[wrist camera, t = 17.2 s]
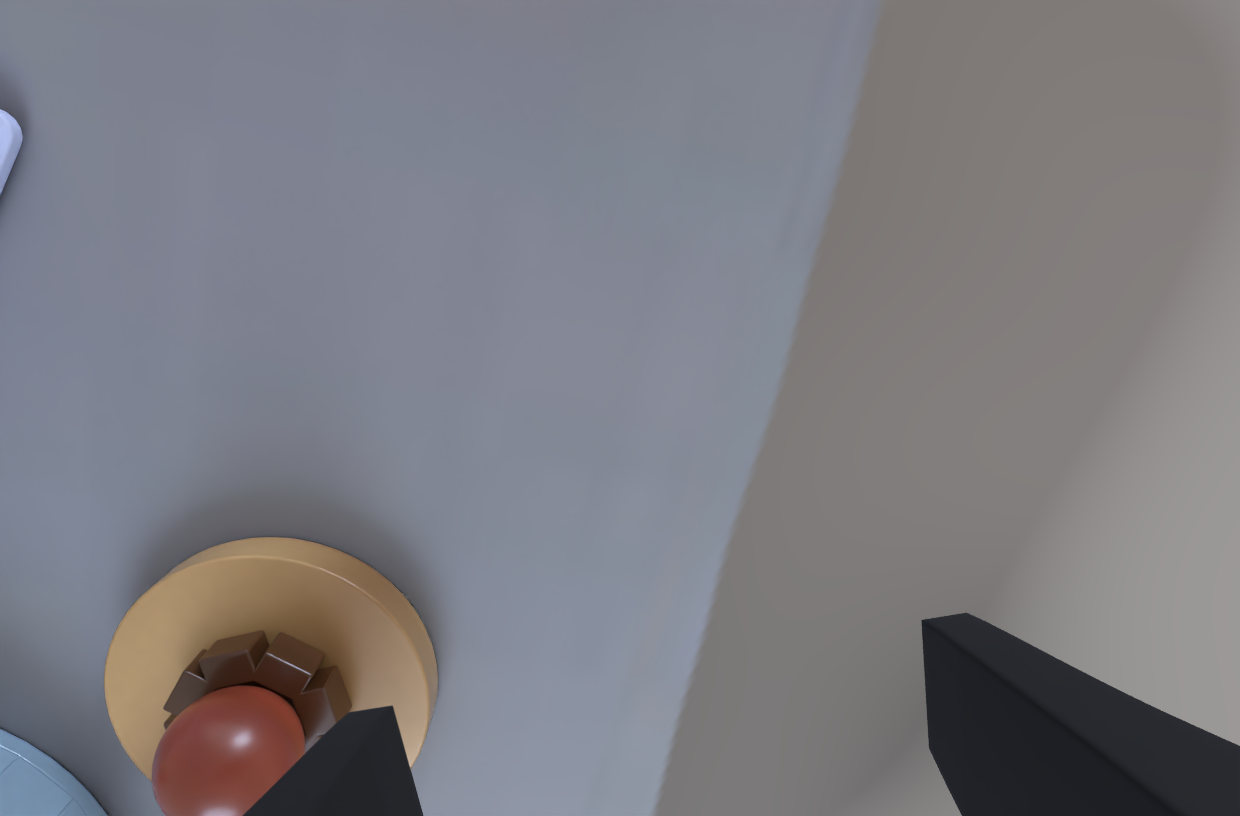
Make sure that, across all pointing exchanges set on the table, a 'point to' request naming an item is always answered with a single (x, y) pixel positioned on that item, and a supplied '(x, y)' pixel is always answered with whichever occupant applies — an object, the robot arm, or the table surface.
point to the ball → (225, 752)
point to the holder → (270, 642)
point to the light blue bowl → (39, 784)
